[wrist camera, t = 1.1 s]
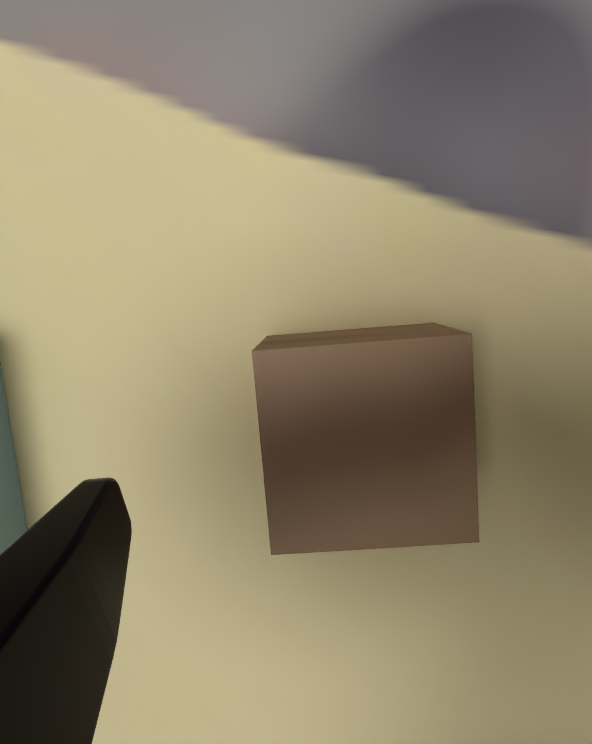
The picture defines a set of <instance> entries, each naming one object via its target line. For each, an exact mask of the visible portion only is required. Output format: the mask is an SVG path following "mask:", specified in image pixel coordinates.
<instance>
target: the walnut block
mask: <svg viewBox="0 0 592 744" xmlns="http://www.w3.org/2000/svg"><path fill="white" fill-rule="evenodd" d="M252 357H253V367H254V378H255V388H256V399H257V410H258V420H259V431H260V441H261V452H262V463H263V473H264V484H265V495H266V505H267V516H268V526H269V537H270V548H271V555H278V554H295V553H311V552H327V551H344V550H360V549H376V548H393V547H409V546H425V545H442V544H458V543H474V542H479V524H478V496H477V467H476V439H475V410H474V382H473V353H472V334H471V333H467V332H464V331H460V330H457V329H453V328H450V327H446V326H443V325H439V324H436V323H425V324H413V325H400V326H387V327H375V328H362V329H350V330H337V331H324V332H312V333H299V334H287V335H274V336H267V337H266V338H265V339H264V340H263V341H262V342H261V343H260V344H259V345H258V346H257V347H256V348H255V349H254V350H253V351H252Z"/></svg>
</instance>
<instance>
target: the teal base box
mask: <svg viewBox="0 0 592 744" xmlns="http://www.w3.org/2000/svg"><path fill="white" fill-rule="evenodd" d="M27 530H28V529H27V523H26V517H25V510H24V504H23V498H22V492H21V486H20V480H19V474H18V468H17V462H16V456H15V450H14V443H13V437H12V431H11V425H10V419H9V413H8V407H7V401H6V395H5V389H4V383H3V376H2V370H1V364H0V554H1V553H3V552H4V551H5V550H6V549H7V548H8V547H9V546H10V545H12V544H13V543H14V542H15V541H16V540H17V539H18V538H19V537H20V536H22V535H23V534H24V533H25V532H26V531H27Z"/></svg>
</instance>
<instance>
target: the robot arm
mask: <svg viewBox="0 0 592 744" xmlns="http://www.w3.org/2000/svg"><path fill="white" fill-rule="evenodd" d="M131 530H132V529H131V520H130V517H129V514H128V511H127V508H126V505H125V502H124V499H123V496H122V493H121V490H120V487H119V485H118V483H117V481H116V480H115V479H113V478H98V479H88V480H85V481H83V482H81V483H80V484H79V485H78V486H77V487H76V488H74V489H73V490H72V491H71V492H70V493H69V494H68V495H67V496H65V497H64V498H63V499H62V500H61V501H60V502H59V503H58V504H56V505H55V506H54V507H53V508H52V509H51V510H50V511H49V512H47V513H46V514H45V515H44V516H43V517H42V518H41V519H40V520H38V521H37V522H36V523H35V524H34V525H33V526H32V527H31V528H29V529H28V530H27V531H26V532H25V533H24V534H23V535H22V536H20V537H19V538H18V539H17V540H16V541H15V542H14V543H13V544H12V545H10V546H9V547H8V548H7V549H6V550H5V551H4V552H3V553H1V554H0V744H92V740H93V736H94V732H95V728H96V724H97V720H98V716H99V712H100V708H101V704H102V700H103V696H104V692H105V688H106V684H107V680H108V676H109V672H110V668H111V664H112V660H113V656H114V651H115V647H116V642H117V636H118V630H119V624H120V616H121V609H122V601H123V594H124V587H125V579H126V572H127V564H128V557H129V550H130V542H131Z"/></svg>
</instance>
